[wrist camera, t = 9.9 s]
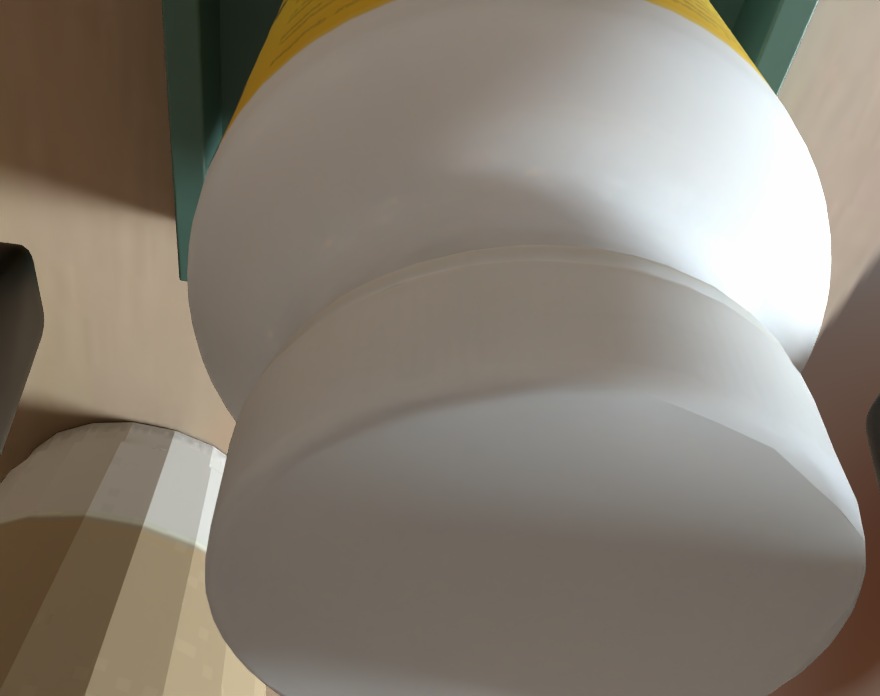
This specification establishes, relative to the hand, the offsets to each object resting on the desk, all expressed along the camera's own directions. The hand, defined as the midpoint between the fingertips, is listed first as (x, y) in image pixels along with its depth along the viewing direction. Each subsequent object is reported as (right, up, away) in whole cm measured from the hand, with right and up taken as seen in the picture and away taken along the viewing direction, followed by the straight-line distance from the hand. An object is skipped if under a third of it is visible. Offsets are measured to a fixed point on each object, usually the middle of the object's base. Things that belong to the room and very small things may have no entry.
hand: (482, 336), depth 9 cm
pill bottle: (0, +6, +6) cm, 9 cm away
